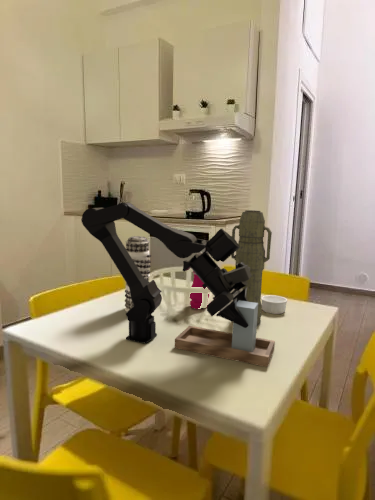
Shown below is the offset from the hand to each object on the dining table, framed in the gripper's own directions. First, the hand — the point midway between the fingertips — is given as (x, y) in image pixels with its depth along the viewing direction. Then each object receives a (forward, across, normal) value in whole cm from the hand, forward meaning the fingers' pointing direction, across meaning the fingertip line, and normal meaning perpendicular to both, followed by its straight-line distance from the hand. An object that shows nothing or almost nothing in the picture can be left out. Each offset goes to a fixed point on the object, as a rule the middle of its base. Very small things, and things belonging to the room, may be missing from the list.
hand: (250, 321), depth 86 cm
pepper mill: (-11, +29, +23) cm, 39 cm away
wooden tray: (+2, 0, +11) cm, 11 cm away
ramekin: (+7, +37, +6) cm, 38 cm away
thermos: (+2, +22, +10) cm, 24 cm away
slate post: (+4, 0, +6) cm, 8 cm away
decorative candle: (-24, +17, +36) cm, 46 cm away
